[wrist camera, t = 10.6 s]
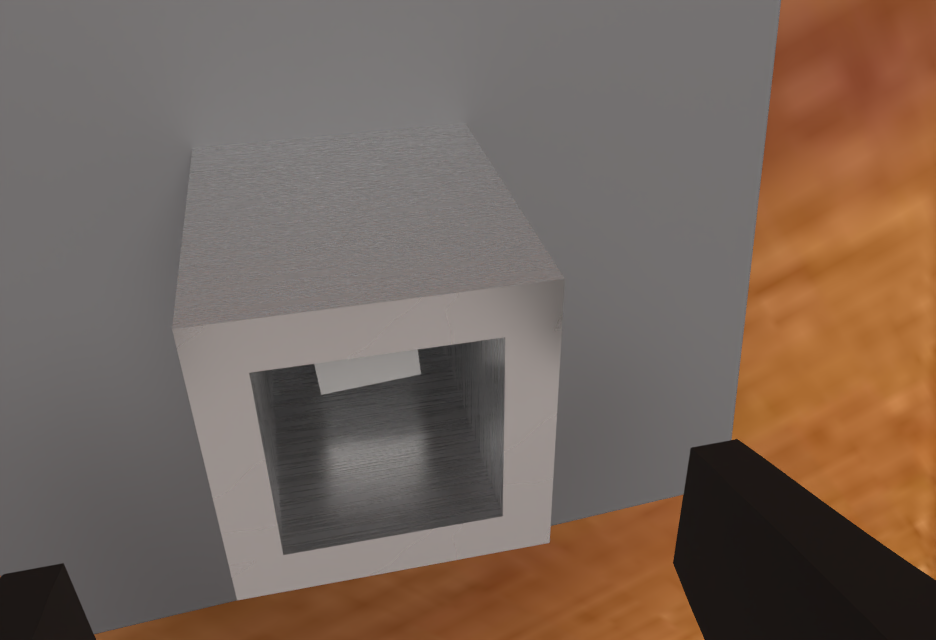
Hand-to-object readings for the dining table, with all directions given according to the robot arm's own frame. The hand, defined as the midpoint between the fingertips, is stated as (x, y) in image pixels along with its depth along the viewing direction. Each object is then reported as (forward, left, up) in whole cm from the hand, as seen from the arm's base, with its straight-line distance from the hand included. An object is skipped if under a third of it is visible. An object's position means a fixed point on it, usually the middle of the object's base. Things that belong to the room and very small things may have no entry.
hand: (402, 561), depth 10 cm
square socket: (0, 0, -8) cm, 8 cm away
